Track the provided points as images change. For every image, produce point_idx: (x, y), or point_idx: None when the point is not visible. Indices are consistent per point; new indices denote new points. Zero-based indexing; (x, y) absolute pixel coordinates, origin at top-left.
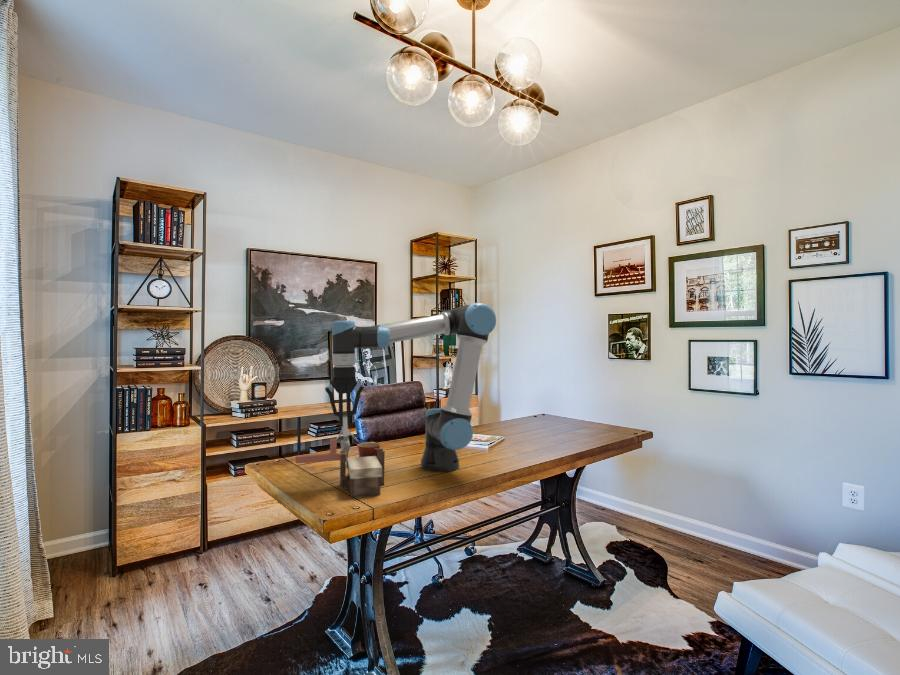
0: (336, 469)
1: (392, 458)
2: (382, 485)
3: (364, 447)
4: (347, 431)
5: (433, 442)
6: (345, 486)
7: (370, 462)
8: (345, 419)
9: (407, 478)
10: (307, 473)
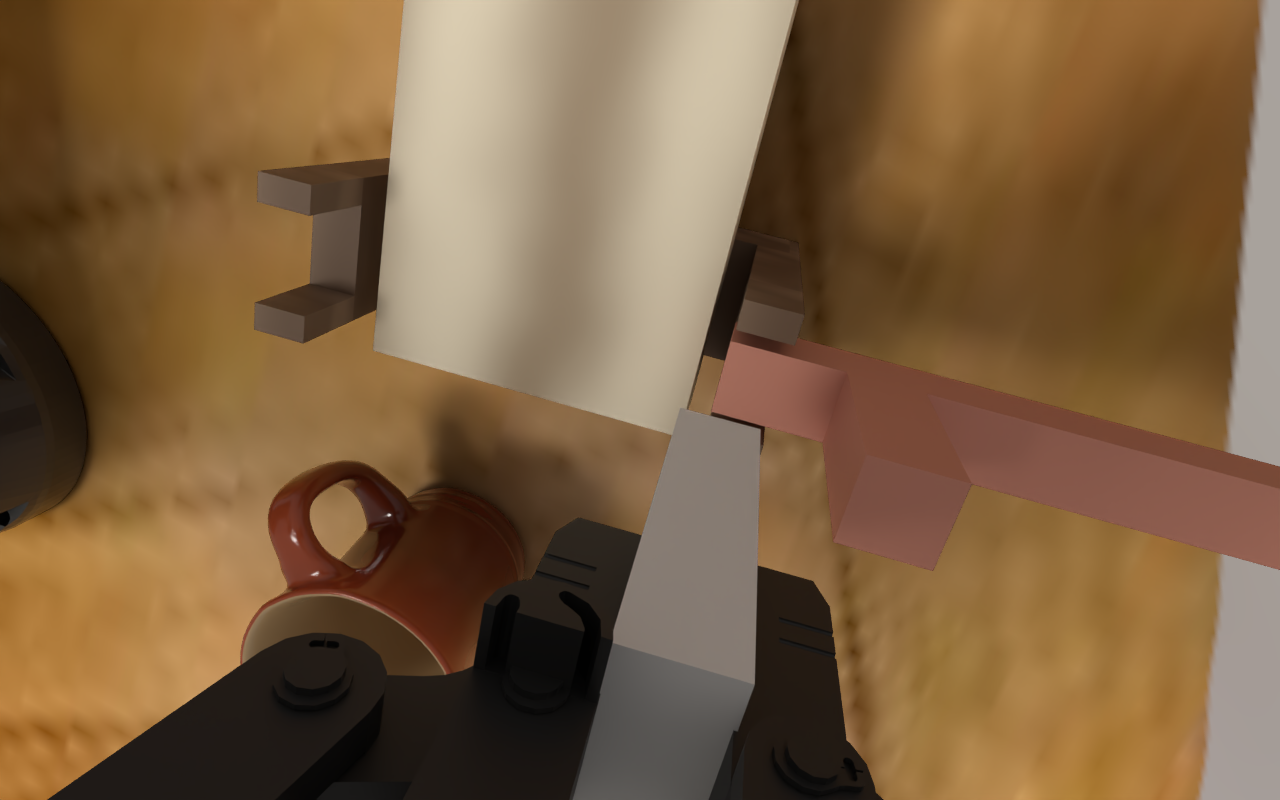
0: None
1: None
2: None
3: (414, 626)
4: (672, 443)
5: None
6: (759, 236)
7: (496, 102)
8: (681, 610)
9: (232, 241)
10: (881, 740)
